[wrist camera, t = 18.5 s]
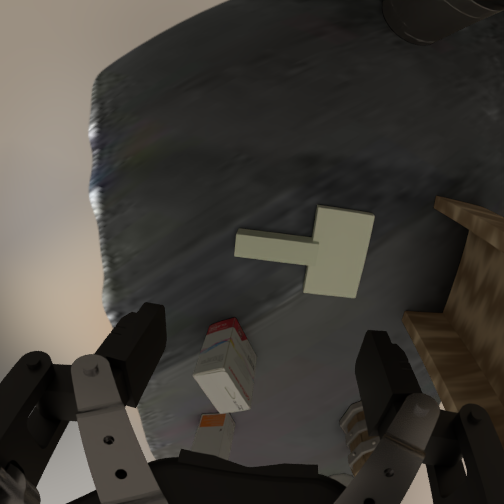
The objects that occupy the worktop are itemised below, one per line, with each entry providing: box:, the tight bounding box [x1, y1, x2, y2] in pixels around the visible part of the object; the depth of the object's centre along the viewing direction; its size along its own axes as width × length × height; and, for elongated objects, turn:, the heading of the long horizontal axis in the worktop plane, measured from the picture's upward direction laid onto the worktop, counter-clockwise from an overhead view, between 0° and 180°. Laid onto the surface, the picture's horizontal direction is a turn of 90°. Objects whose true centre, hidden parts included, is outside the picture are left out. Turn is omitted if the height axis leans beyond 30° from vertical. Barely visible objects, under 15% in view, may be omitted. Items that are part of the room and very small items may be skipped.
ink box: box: [193, 317, 257, 414], centre depth 43 cm, size 9×5×12 cm, turn 23°
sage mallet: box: [234, 205, 375, 298], centre depth 41 cm, size 12×17×2 cm
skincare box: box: [191, 413, 235, 460], centre depth 51 cm, size 6×4×12 cm
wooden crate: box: [402, 196, 504, 449], centre depth 26 cm, size 20×9×32 cm, turn 175°
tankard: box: [340, 401, 380, 477], centre depth 48 cm, size 20×13×15 cm, turn 165°
